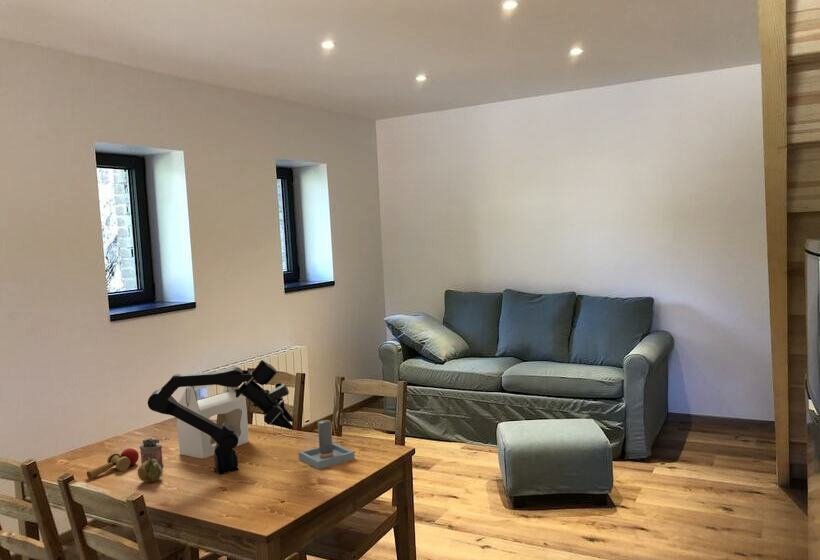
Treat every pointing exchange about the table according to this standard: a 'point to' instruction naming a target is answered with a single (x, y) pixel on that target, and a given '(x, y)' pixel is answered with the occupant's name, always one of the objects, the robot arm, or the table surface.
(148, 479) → the olive green lumpy ball
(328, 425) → the grey rounded peg
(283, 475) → the table surface
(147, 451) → the lighter
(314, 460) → the tray
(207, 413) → the gable box
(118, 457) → the kendama
